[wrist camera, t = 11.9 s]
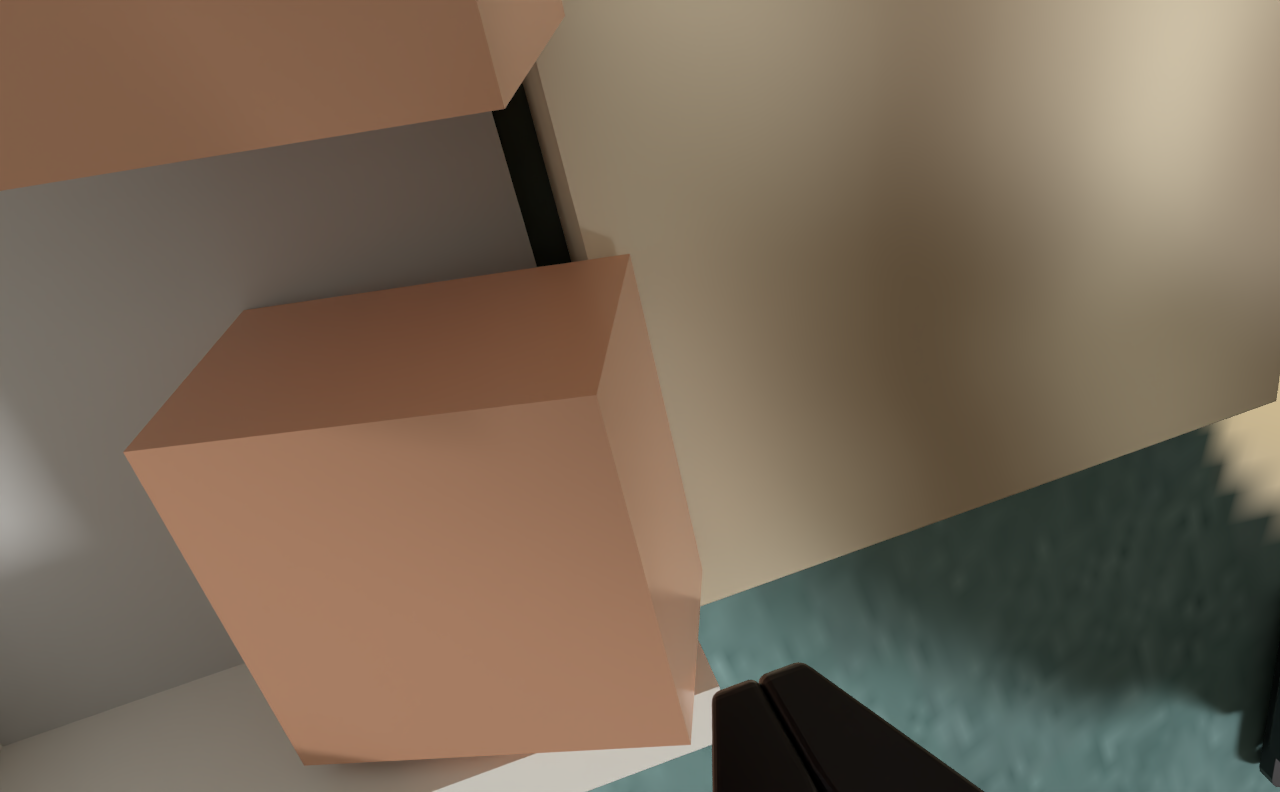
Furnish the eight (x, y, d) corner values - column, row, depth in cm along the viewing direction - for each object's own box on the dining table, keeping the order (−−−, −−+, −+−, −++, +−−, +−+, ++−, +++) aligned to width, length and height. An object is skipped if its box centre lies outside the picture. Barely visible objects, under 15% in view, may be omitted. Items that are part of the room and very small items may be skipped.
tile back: (629, 253, 12) (597, 394, 10) (702, 569, 15) (690, 744, 12) (243, 310, 13) (123, 451, 11) (376, 598, 16) (303, 765, 13)
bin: (271, -841, 9) (239, -1235, 6) (652, 556, 17) (731, 737, 14) (-1209, -574, 8) (-2410, -870, 4) (-23, 791, 16) (-113, 1051, 13)
